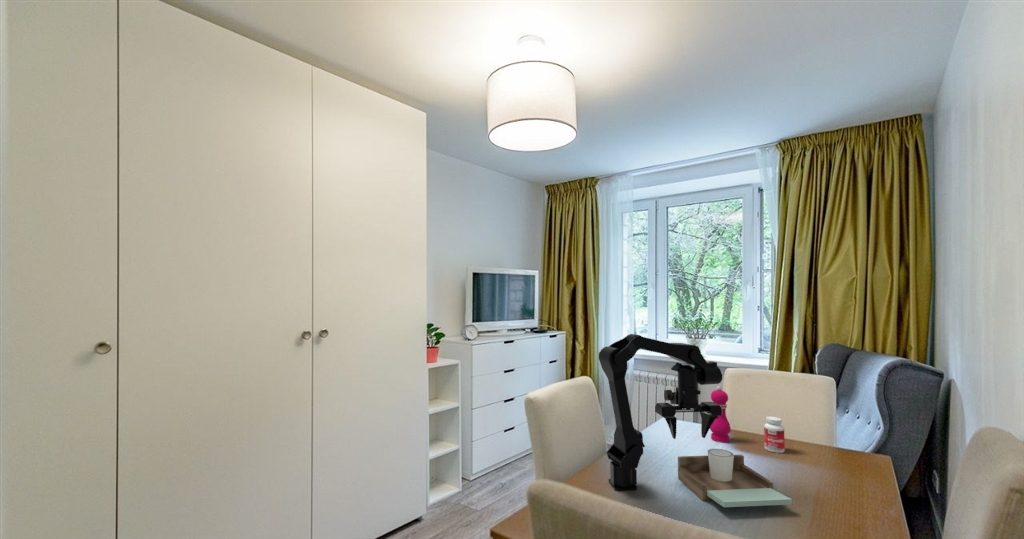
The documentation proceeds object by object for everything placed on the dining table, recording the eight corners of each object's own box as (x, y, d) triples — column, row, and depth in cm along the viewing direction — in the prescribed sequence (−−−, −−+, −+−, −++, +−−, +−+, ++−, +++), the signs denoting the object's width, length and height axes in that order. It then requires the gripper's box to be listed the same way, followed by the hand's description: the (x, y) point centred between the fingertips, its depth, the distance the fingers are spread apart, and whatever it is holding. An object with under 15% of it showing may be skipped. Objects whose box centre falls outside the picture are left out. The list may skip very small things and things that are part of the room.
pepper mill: (734, 443, 163) (733, 388, 164) (714, 443, 163) (713, 388, 164) (725, 436, 170) (724, 384, 171) (706, 436, 170) (705, 383, 171)
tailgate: (706, 495, 117) (723, 507, 110) (706, 490, 118) (723, 502, 110) (770, 492, 119) (792, 504, 111) (770, 488, 119) (791, 499, 111)
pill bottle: (766, 452, 154) (765, 419, 154) (762, 446, 160) (762, 415, 160) (786, 454, 152) (785, 421, 152) (782, 448, 157) (781, 416, 158)
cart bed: (702, 501, 118) (702, 476, 118) (678, 478, 132) (677, 456, 132) (773, 498, 120) (772, 473, 120) (741, 476, 133) (741, 454, 134)
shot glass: (737, 483, 123) (737, 457, 123) (711, 481, 124) (711, 456, 124) (729, 473, 130) (729, 448, 130) (704, 471, 131) (704, 447, 131)
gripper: (703, 379, 143) (704, 428, 142) (647, 380, 141) (648, 430, 141) (722, 387, 132) (724, 440, 131) (662, 388, 130) (663, 442, 130)
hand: (688, 438), depth 134 cm, fingers open, 9 cm apart
